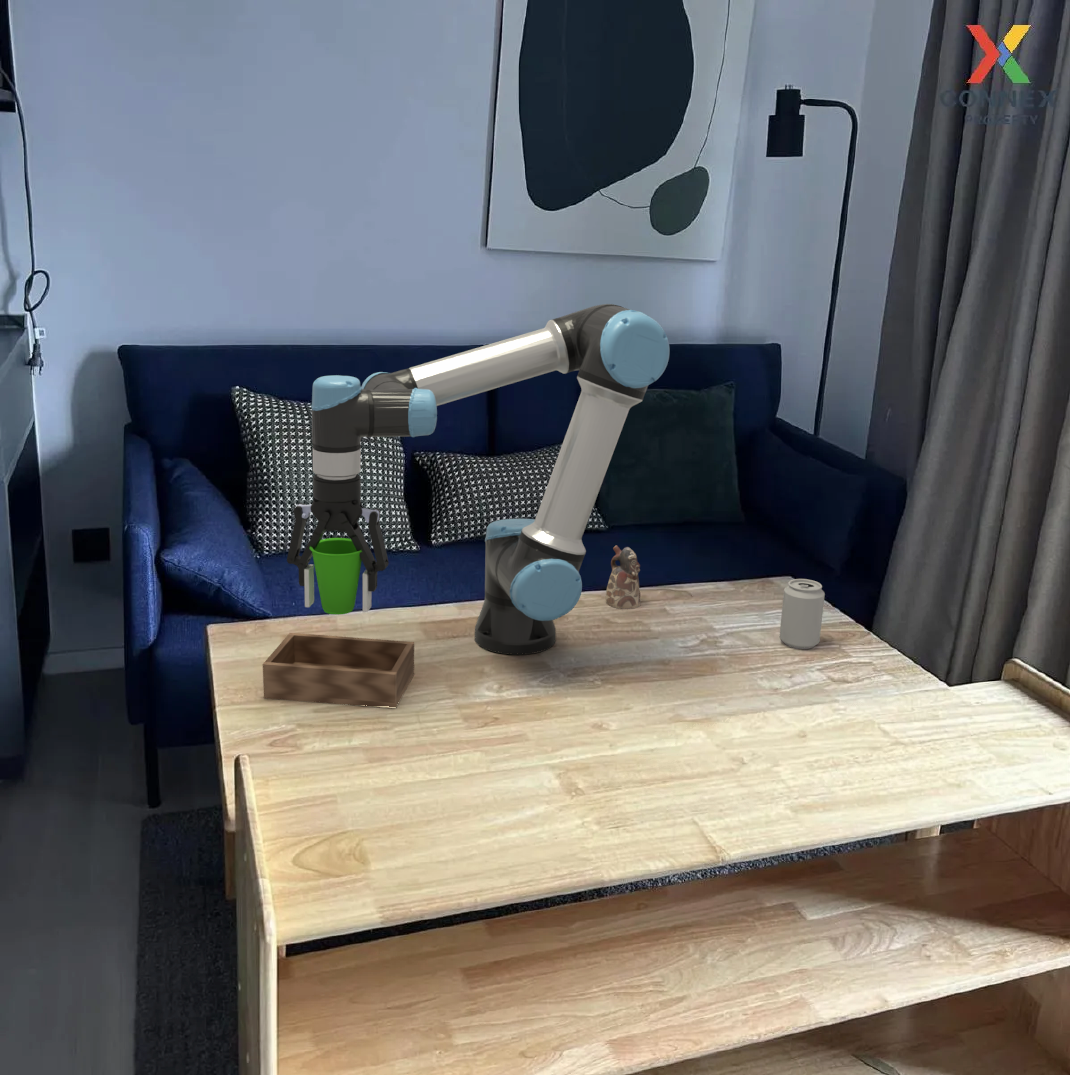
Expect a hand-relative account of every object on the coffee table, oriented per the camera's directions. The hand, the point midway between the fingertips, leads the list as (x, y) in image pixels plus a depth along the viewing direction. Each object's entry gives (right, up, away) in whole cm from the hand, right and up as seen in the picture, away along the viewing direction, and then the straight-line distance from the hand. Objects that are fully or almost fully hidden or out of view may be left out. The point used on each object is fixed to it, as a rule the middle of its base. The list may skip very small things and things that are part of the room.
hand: (338, 606), depth 195 cm
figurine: (+50, -2, +47) cm, 69 cm away
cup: (0, -1, 0) cm, 1 cm away
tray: (0, -14, +4) cm, 14 cm away
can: (+82, -9, +29) cm, 88 cm away
